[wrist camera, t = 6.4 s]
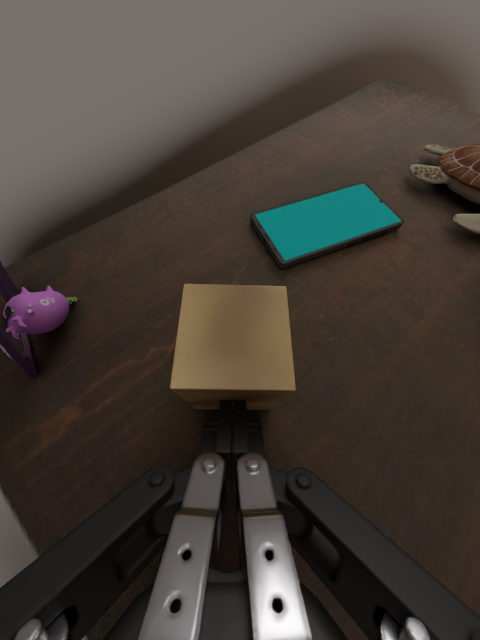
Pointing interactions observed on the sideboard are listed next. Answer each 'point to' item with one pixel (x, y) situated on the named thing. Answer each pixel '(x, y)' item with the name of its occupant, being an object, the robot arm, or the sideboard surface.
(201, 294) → the beech block
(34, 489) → the sideboard surface
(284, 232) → the smartphone
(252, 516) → the robot arm
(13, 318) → the purple figure in frame
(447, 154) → the decorative turtle
